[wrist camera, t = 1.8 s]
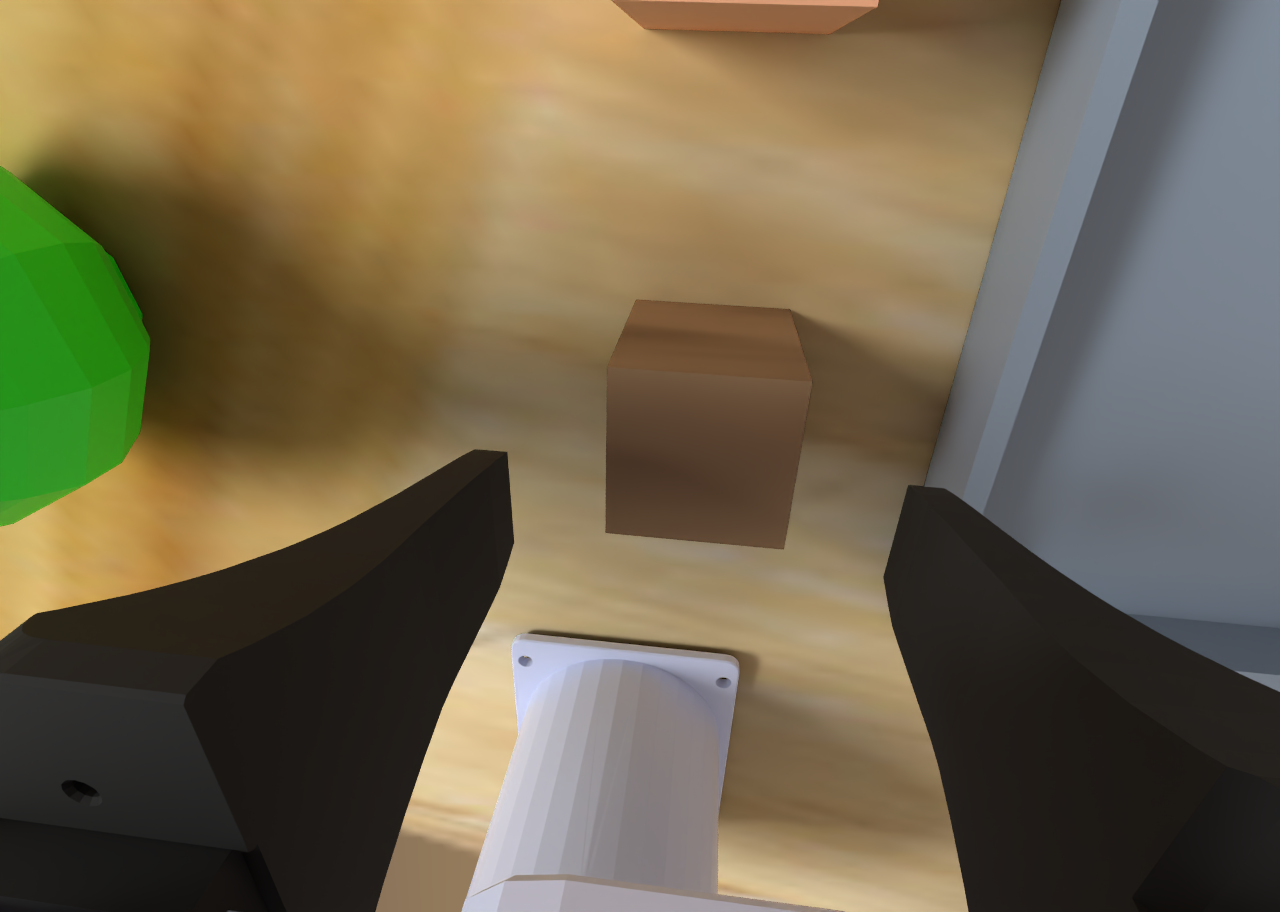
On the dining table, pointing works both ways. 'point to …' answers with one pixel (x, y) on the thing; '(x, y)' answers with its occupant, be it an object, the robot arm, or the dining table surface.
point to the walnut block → (705, 423)
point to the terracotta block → (747, 14)
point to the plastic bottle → (62, 355)
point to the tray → (1139, 325)
